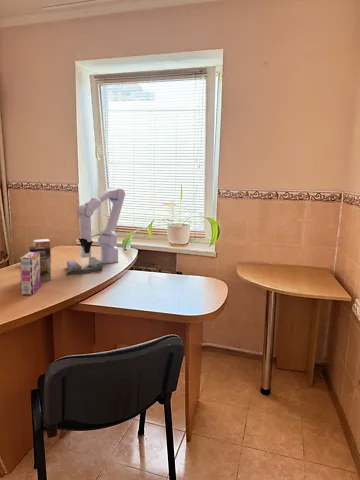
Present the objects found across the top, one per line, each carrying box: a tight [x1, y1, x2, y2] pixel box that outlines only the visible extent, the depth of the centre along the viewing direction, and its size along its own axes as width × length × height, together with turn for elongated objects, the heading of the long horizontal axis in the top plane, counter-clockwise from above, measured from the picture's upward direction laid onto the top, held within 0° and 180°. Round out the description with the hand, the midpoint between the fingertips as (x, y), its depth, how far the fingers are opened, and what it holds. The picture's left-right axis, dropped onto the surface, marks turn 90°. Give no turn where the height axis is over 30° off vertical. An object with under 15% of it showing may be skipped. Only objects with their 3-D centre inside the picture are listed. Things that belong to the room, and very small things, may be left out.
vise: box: [66, 256, 103, 276], centre depth 178 cm, size 18×14×4 cm
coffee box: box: [28, 246, 52, 282], centre depth 159 cm, size 9×6×16 cm
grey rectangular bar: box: [66, 259, 83, 271], centre depth 176 cm, size 4×14×4 cm, turn 32°
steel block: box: [79, 244, 92, 259], centre depth 180 cm, size 5×4×6 cm
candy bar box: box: [19, 251, 42, 296], centre depth 144 cm, size 11×5×16 cm, turn 5°
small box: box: [32, 238, 52, 263], centre depth 187 cm, size 8×6×13 cm
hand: (85, 252), depth 180 cm, fingers closed on steel block, 4 cm apart
